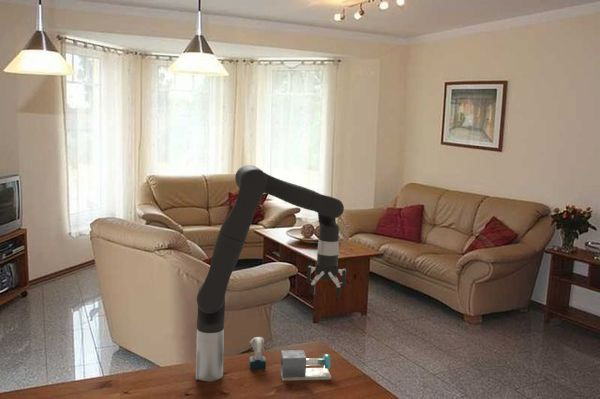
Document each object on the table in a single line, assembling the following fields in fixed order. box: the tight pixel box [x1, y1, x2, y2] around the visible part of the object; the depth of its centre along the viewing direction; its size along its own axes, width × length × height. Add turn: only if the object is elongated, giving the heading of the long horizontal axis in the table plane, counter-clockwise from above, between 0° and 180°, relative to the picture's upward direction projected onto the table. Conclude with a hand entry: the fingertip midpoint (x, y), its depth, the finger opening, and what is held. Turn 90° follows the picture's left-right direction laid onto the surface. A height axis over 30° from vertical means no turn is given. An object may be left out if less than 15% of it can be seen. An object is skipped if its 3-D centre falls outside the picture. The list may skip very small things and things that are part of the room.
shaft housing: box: [280, 349, 332, 382], centre depth 194 cm, size 17×7×8 cm, turn 98°
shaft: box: [306, 353, 332, 370], centre depth 195 cm, size 14×5×5 cm, turn 98°
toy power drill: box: [249, 336, 267, 371], centre depth 199 cm, size 6×8×11 cm
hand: (325, 295), depth 201 cm, fingers open, 8 cm apart
